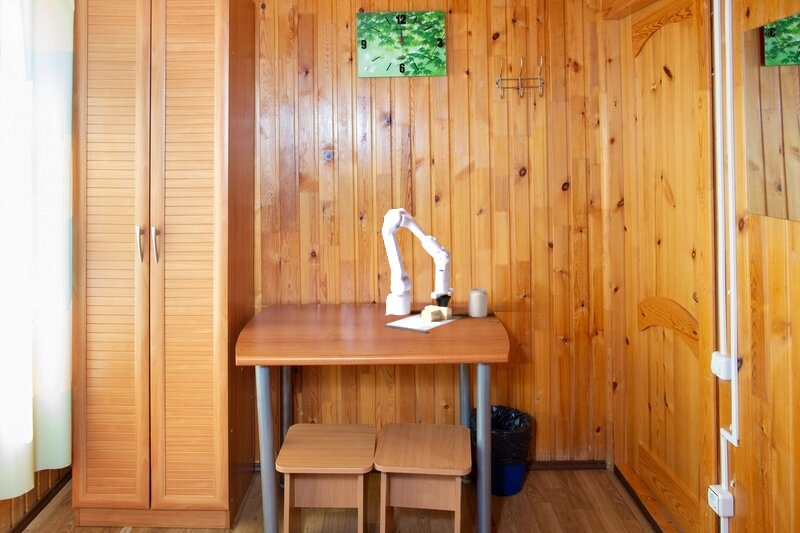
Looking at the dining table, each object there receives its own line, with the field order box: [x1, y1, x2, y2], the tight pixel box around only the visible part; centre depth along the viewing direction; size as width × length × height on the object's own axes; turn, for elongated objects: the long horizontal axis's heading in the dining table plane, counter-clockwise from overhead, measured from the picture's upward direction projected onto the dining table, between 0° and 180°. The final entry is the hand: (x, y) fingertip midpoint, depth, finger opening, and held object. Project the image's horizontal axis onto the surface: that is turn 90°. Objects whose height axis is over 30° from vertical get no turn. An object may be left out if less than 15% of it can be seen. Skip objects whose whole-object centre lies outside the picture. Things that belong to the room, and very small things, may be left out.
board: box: [385, 312, 463, 334], centre depth 259 cm, size 18×28×1 cm, turn 146°
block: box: [421, 305, 453, 322], centre depth 262 cm, size 10×11×4 cm
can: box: [468, 287, 488, 318], centre depth 269 cm, size 8×8×12 cm
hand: (442, 313), depth 268 cm, fingers closed
